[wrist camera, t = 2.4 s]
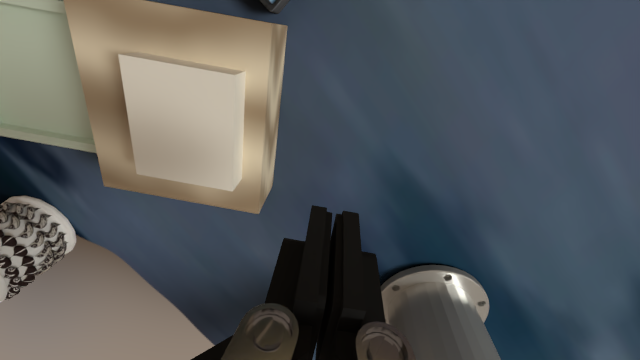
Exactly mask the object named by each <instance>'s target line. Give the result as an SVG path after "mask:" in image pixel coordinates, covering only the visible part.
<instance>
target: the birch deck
mask: <svg viewBox="0 0 640 360" xmlns="http://www.w3.org/2000/svg"><path fill="white" fill-rule="evenodd" d="M63 1H64V5H65V10H66V14H67V19H68V24H69V28H70V33H71V37H72V42H73V46H74V51H75V55H76V60H77V65H78V69H79V74H80V78H81V83H82V87H83V92H84V96H85V101H86V106H87V110H88V115H89V119H90V124H91V128H92V133H93V138H94V142H95V147H96V151H97V156H98V160H99V165H100V169H101V174H102V179H103V183H104V186H107V187H112V188H118V189H123V190H129V191H134V192H140V193H145V194H151V195H156V196H162V197H167V198H173V199H178V200H184V201H189V202H195V203H200V204H206V205H212V206H217V207H223V208H228V209H234V210H239V211H245V212H250V213H256V214H259V212H260V210H261V208H262V206H263V204H264V202H265V200H266V198H267V196H268V194H269V192H270V190H271V188H272V185H273V175H274V164H275V153H276V143H277V132H278V121H279V111H280V100H281V89H282V78H283V68H284V57H285V46H286V36H287V26H285V25H280V24H274V23H269V22H263V21H258V20H252V19H247V18H241V17H235V16H230V15H224V14H219V13H213V12H208V11H202V10H196V9H191V8H185V7H180V6H174V5H169V4H163V3H158V2H152V1H146V0H63ZM137 52H141V53H147V54H152V55H158V56H164V57H169V58H175V59H180V60H186V61H191V62H197V63H202V64H208V65H213V66H219V67H225V68H230V69H236V70H241V71H246V76H245V104H244V132H243V159H242V179H241V181H240V182H239V184H238V185H237V186H236V188H235V189H234V190H233V191H227V190H222V189H216V188H210V187H205V186H199V185H194V184H188V183H183V182H177V181H172V180H166V179H161V178H155V177H150V176H144V175H139V174H137V173H136V166H135V160H134V153H133V147H132V140H131V134H130V127H129V121H128V115H127V108H126V102H125V95H124V89H123V82H122V76H121V69H120V63H119V57H118V54H125V53H137Z"/></svg>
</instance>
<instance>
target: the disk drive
mask: <svg viewBox="0 0 640 360" xmlns="http://www.w3.org/2000/svg"><path fill="white" fill-rule="evenodd" d="M289 1H290V0H260V2H262V4H263V5H264V6H265V7H266V8H267V9H268V10H269V11H270V12H273V13H276V14H278V13H280V12H281V10H282V9H283V8H284V7H285V6H286V4H287V3H288V2H289Z"/></svg>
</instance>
